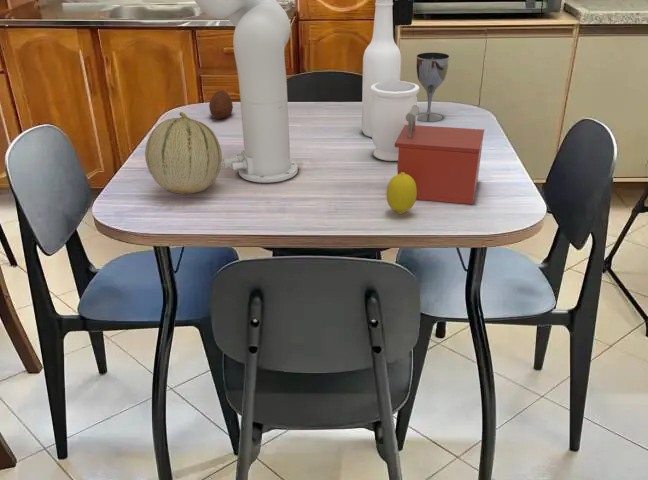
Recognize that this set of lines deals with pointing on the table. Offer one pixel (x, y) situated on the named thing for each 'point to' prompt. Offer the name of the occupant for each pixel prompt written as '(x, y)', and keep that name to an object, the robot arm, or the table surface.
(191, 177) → the cantaloupe
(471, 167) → the bin
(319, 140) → the table surface
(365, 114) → the alcohol
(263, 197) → the table surface
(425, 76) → the wine glass
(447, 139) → the bin lid
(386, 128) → the jar
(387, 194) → the lemon
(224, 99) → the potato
